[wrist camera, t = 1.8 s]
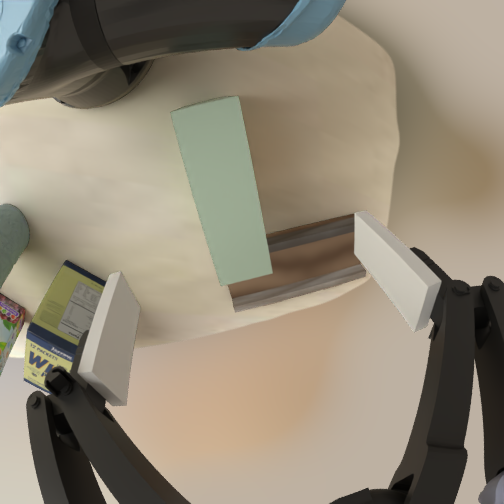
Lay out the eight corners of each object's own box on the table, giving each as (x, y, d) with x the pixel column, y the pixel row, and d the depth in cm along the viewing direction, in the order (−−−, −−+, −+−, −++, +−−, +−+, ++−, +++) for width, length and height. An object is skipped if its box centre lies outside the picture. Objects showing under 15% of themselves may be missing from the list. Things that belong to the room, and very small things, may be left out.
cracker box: (183, 106, 30) (170, 112, 18) (226, 96, 30) (241, 95, 18) (213, 222, 38) (221, 286, 26) (250, 213, 38) (274, 272, 27)
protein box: (49, 316, 42) (22, 381, 29) (65, 257, 37) (25, 329, 24) (95, 340, 46) (79, 408, 33) (121, 287, 41) (100, 366, 28)
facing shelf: (216, 246, 40) (218, 258, 38) (358, 212, 41) (368, 220, 38) (233, 301, 46) (235, 313, 43) (357, 267, 47) (365, 277, 44)
